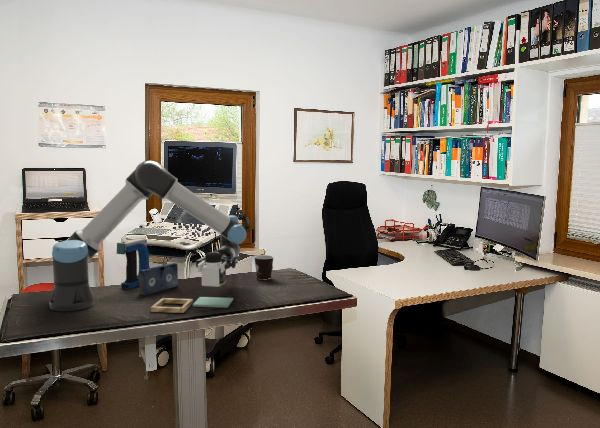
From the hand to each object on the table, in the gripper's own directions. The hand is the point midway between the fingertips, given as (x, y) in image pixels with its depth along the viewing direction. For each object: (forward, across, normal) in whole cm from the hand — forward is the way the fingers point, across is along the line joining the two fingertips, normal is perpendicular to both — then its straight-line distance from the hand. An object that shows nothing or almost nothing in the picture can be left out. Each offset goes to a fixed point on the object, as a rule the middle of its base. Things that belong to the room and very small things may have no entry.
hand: (210, 268), depth 184 cm
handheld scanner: (-26, +40, -14) cm, 50 cm away
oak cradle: (+2, +14, -14) cm, 20 cm away
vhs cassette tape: (-21, +27, -15) cm, 37 cm away
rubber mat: (-5, 0, -14) cm, 15 cm away
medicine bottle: (-5, 0, -7) cm, 9 cm away
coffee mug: (-44, -13, -15) cm, 48 cm away
